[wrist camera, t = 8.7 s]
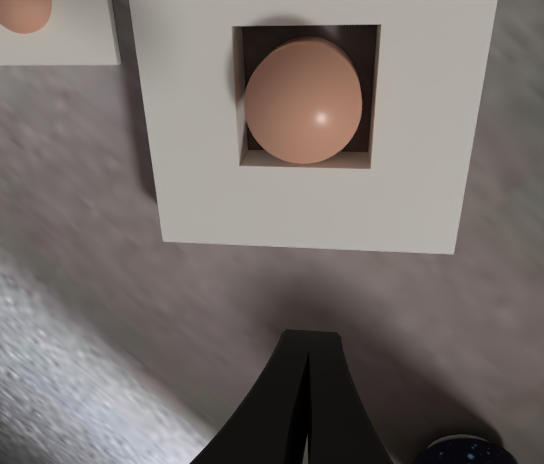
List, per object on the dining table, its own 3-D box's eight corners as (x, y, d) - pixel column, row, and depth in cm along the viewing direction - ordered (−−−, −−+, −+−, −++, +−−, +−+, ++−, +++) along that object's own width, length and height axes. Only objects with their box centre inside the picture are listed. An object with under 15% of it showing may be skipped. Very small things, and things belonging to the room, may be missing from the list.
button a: (357, 143, 20) (358, 165, 17) (257, 141, 20) (246, 162, 18) (363, 35, 18) (366, 44, 16) (253, 37, 18) (241, 45, 16)
